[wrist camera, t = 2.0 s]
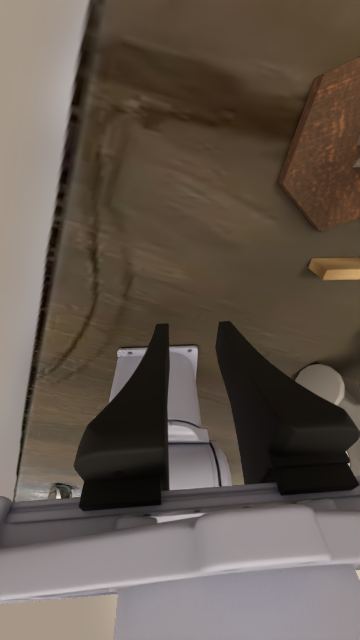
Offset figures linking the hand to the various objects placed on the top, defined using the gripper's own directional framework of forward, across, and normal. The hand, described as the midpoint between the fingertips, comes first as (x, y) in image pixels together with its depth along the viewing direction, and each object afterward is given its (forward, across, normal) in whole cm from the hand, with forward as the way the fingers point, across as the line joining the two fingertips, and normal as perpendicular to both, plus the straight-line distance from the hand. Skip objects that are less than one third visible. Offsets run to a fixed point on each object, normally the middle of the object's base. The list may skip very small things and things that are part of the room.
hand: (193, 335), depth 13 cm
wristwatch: (+10, +28, +56) cm, 63 cm away
